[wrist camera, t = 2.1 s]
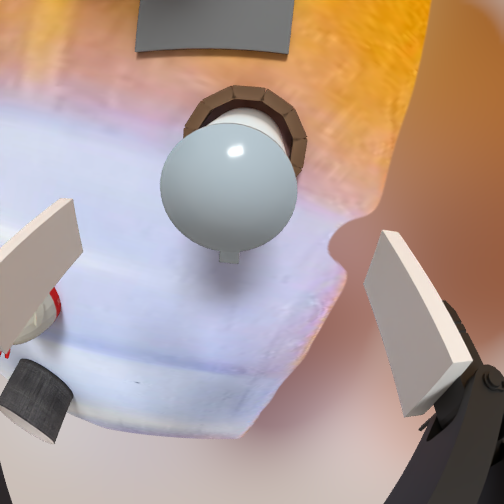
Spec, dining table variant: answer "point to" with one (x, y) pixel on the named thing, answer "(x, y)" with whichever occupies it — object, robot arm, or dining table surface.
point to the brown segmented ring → (258, 95)
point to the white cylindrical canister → (230, 183)
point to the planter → (36, 400)
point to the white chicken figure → (40, 319)
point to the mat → (214, 25)
